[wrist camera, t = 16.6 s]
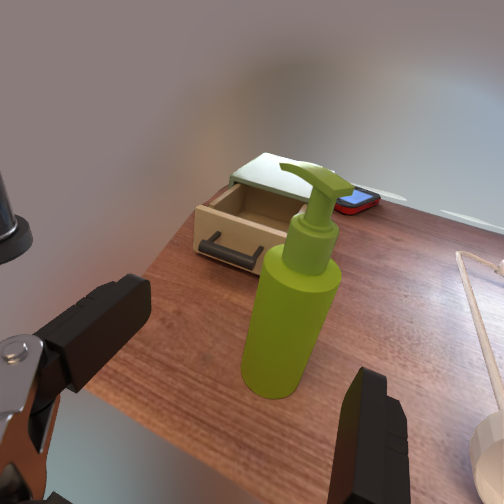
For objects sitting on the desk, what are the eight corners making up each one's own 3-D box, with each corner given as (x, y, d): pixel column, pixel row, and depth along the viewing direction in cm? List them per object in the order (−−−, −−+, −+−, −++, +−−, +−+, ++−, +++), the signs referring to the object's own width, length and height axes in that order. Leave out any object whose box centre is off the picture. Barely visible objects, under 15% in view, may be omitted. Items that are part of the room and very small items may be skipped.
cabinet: (304, 249, 50) (319, 201, 45) (224, 222, 53) (229, 174, 48) (322, 211, 63) (335, 171, 58) (257, 191, 66) (264, 152, 62)
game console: (336, 184, 78) (339, 175, 77) (381, 204, 71) (385, 196, 70) (301, 193, 69) (303, 184, 68) (348, 218, 62) (352, 208, 61)
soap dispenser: (271, 331, 34) (320, 153, 23) (311, 382, 30) (397, 191, 19) (224, 350, 31) (255, 156, 20) (262, 410, 27) (329, 202, 15)
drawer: (271, 305, 36) (282, 259, 33) (174, 267, 39) (174, 221, 36) (307, 233, 52) (318, 197, 49) (237, 210, 55) (242, 174, 52)
